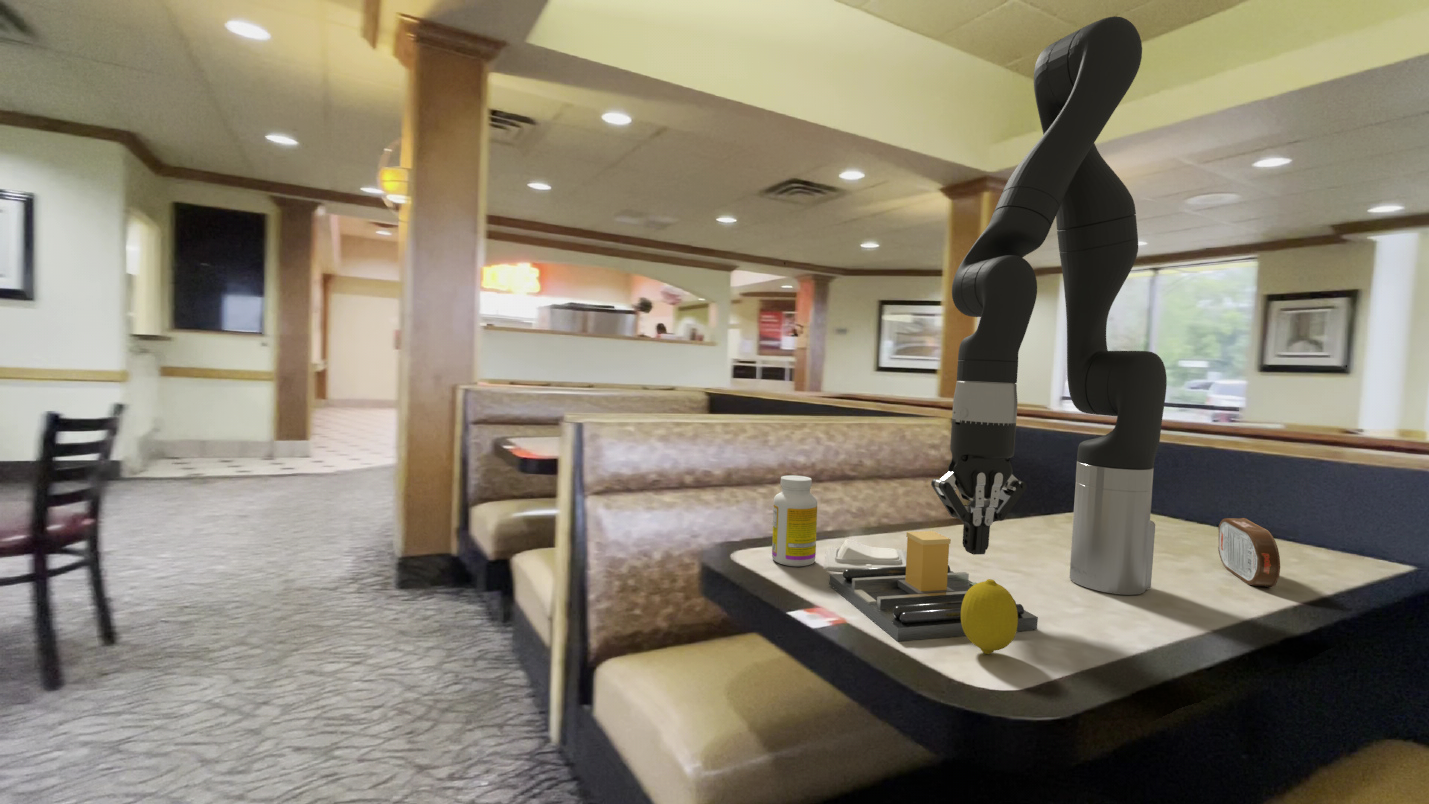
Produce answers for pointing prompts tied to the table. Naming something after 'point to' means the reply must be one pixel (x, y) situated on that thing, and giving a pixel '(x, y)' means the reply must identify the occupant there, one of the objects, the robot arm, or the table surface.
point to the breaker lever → (926, 563)
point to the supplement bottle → (794, 522)
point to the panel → (911, 603)
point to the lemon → (989, 616)
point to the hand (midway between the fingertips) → (974, 552)
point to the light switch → (862, 557)
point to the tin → (1249, 552)
